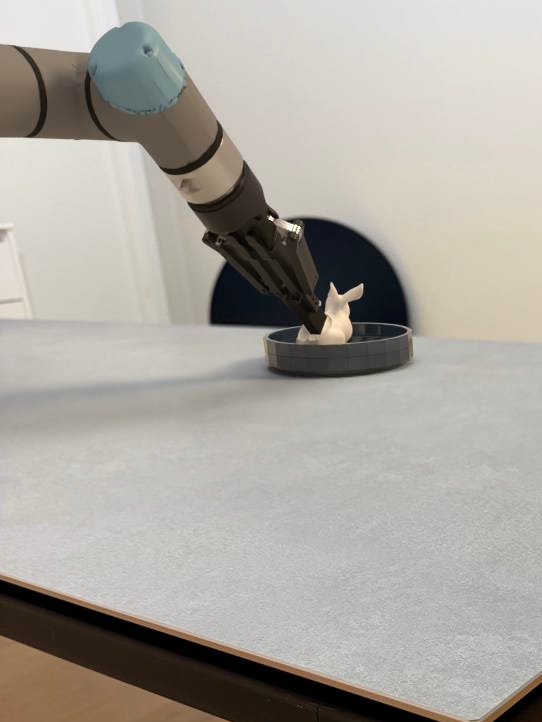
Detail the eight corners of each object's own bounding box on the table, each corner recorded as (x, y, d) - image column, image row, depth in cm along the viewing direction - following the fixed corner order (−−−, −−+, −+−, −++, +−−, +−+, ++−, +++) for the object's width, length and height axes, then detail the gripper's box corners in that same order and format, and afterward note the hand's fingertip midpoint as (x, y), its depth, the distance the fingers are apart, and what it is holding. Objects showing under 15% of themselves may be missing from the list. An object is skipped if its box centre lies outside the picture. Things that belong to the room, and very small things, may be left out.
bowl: (237, 373, 122) (233, 341, 120) (318, 349, 137) (315, 320, 136) (367, 382, 115) (365, 347, 113) (437, 355, 130) (436, 325, 129)
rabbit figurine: (345, 350, 131) (339, 275, 127) (387, 354, 127) (382, 277, 123) (282, 364, 122) (274, 284, 118) (326, 369, 119) (319, 286, 114)
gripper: (152, 210, 100) (266, 348, 121) (254, 207, 95) (354, 352, 116) (177, 153, 102) (285, 300, 123) (278, 148, 97) (372, 301, 118)
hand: (318, 325), depth 119 cm, fingers closed
